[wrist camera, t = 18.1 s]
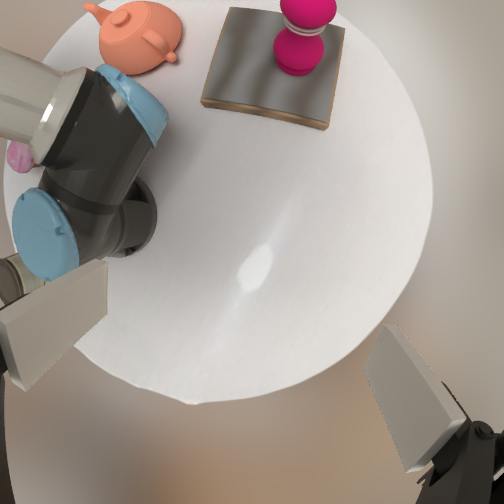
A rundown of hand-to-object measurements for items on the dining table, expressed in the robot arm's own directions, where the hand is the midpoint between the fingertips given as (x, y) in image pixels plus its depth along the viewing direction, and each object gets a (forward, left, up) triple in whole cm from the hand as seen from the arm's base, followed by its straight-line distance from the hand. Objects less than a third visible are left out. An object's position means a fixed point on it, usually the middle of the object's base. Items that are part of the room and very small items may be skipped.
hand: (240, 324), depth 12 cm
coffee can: (-45, -19, -35) cm, 60 cm away
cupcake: (-49, +6, -35) cm, 60 cm away
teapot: (-29, +30, -35) cm, 54 cm away
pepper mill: (0, +27, -31) cm, 41 cm away
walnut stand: (-3, +27, -35) cm, 44 cm away
